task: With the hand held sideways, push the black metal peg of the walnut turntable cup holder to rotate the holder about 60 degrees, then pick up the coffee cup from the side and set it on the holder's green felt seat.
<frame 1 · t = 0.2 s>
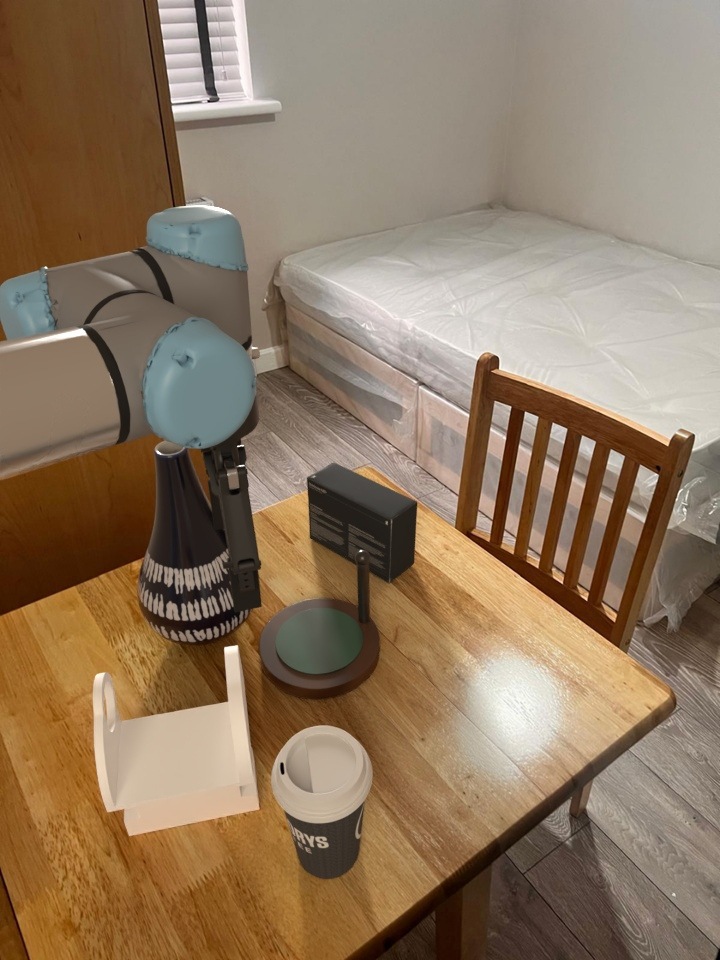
hand: (236, 564, 78), 23 cm above the table, tool pointing down, fingers open, 13 cm apart
coffee cup: (328, 848, 76), on the table
tape dispenser: (194, 792, 82), on the table
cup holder: (317, 612, 94), point 7 cm above the table, hinge at 0.0°
box: (361, 551, 115), on the table
vase: (205, 625, 103), on the table
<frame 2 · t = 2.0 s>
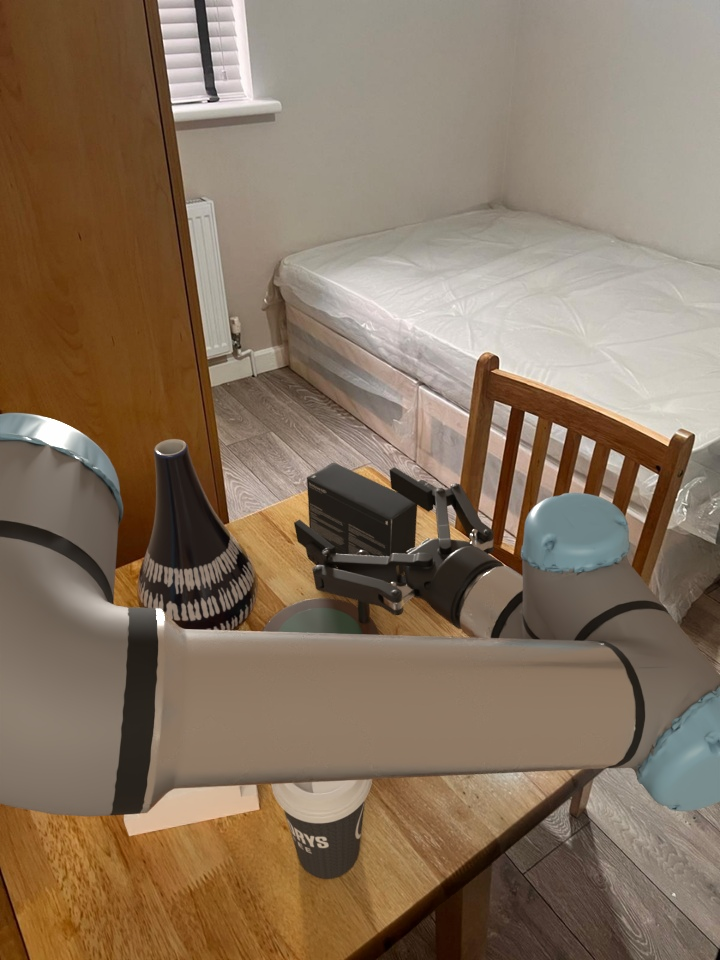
hand: (347, 503, 83), 25 cm above the table, tool horizontal, fingers open, 13 cm apart
nothing on the table moved.
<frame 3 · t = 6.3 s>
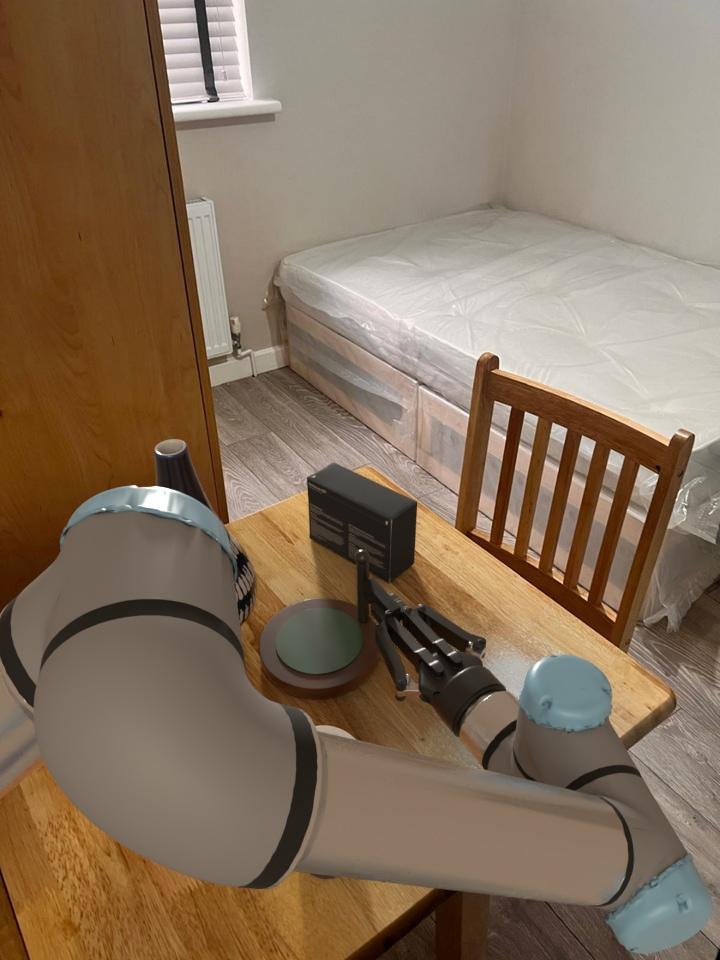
hand: (368, 587, 95), 9 cm above the table, tool horizontal, fingers closed
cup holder: (317, 612, 94), point 7 cm above the table, hinge at 0.8°, touching gripper
everything else where it was.
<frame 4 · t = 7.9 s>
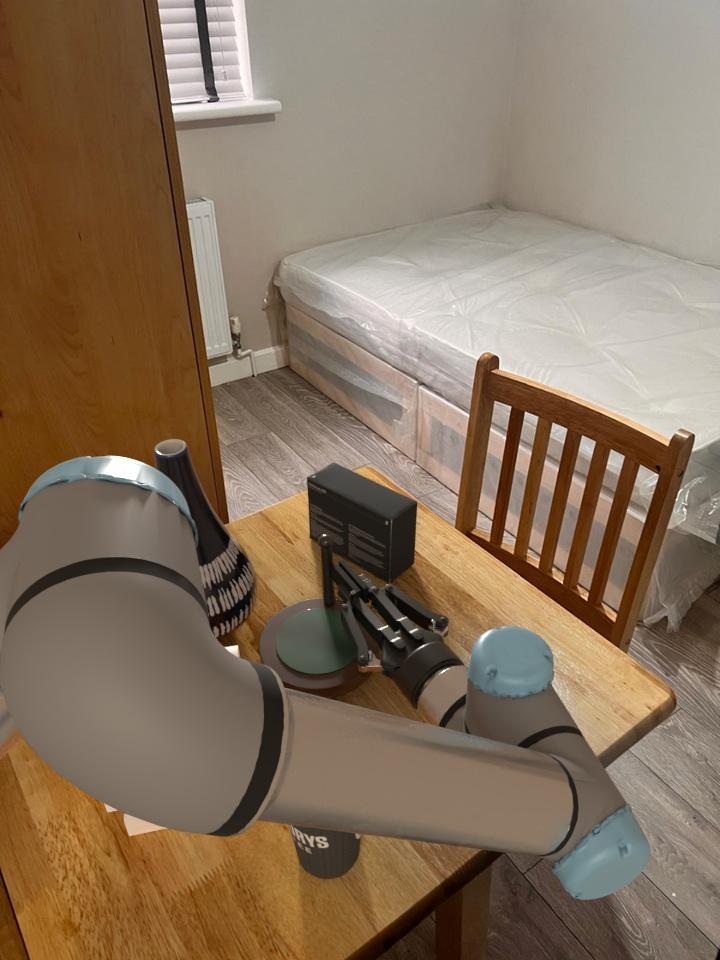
hand: (337, 568, 98), 9 cm above the table, tool horizontal, fingers closed
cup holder: (317, 612, 94), point 7 cm above the table, hinge at 49.4°, touching gripper
everything else where it was.
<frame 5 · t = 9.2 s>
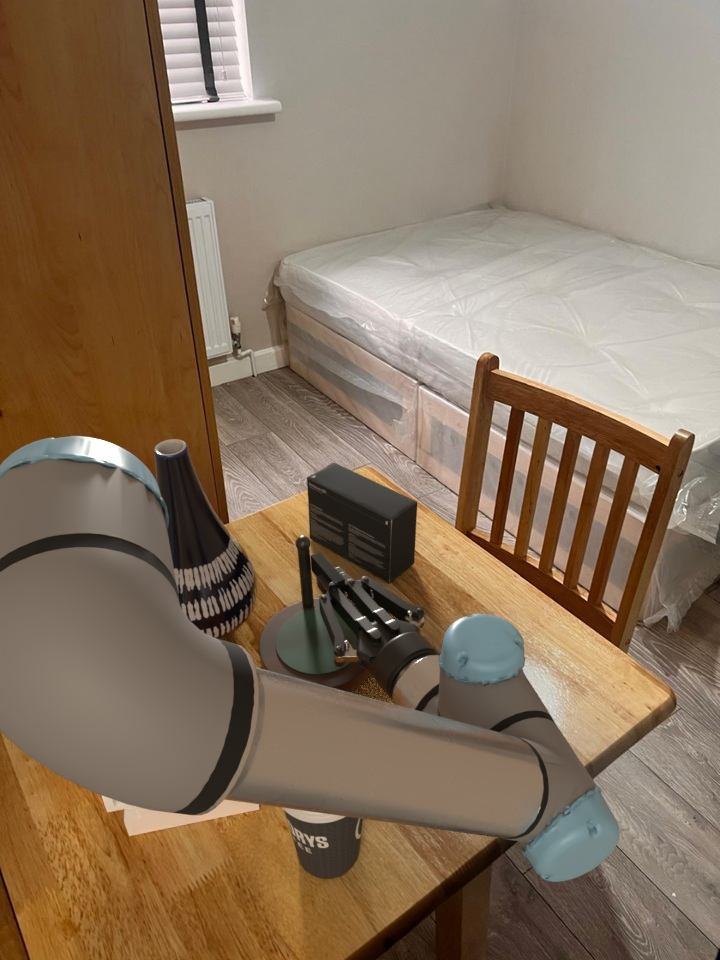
hand: (315, 561, 98), 10 cm above the table, tool horizontal, fingers closed
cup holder: (317, 612, 94), point 7 cm above the table, hinge at 74.0°
everything else where it was.
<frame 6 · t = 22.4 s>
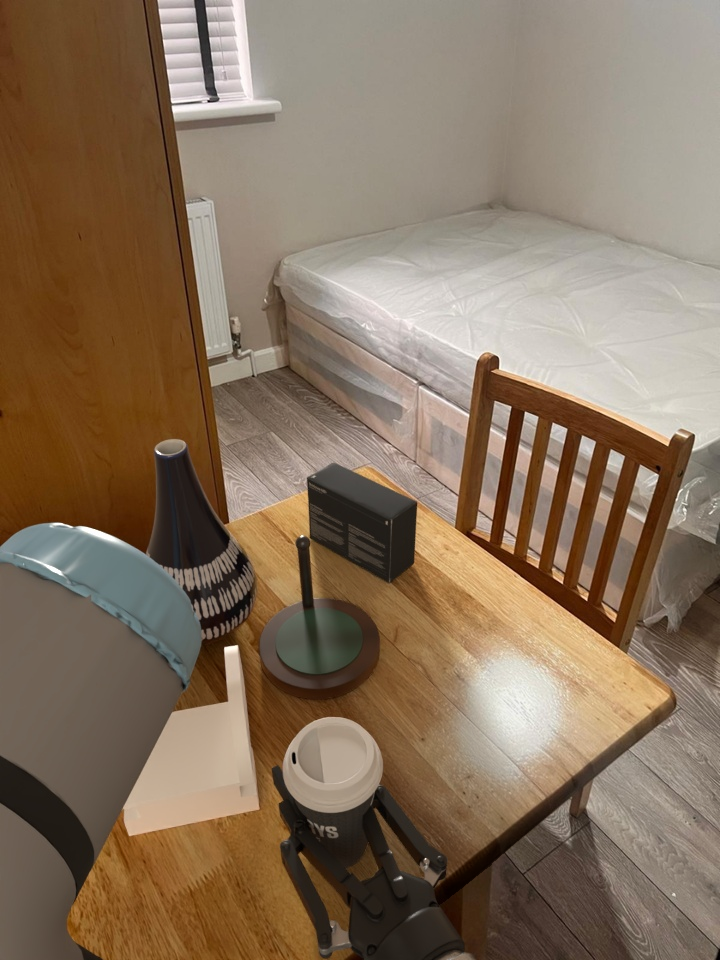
hand: (297, 763, 75), 8 cm above the table, tool horizontal, fingers closed on coffee cup, 4 cm apart
coffee cup: (337, 840, 77), on the table, touching gripper
everything else where it was.
when the fingers open (11 cm above the table, at t = 34.1 s): coffee cup stays where it is, resting on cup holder.
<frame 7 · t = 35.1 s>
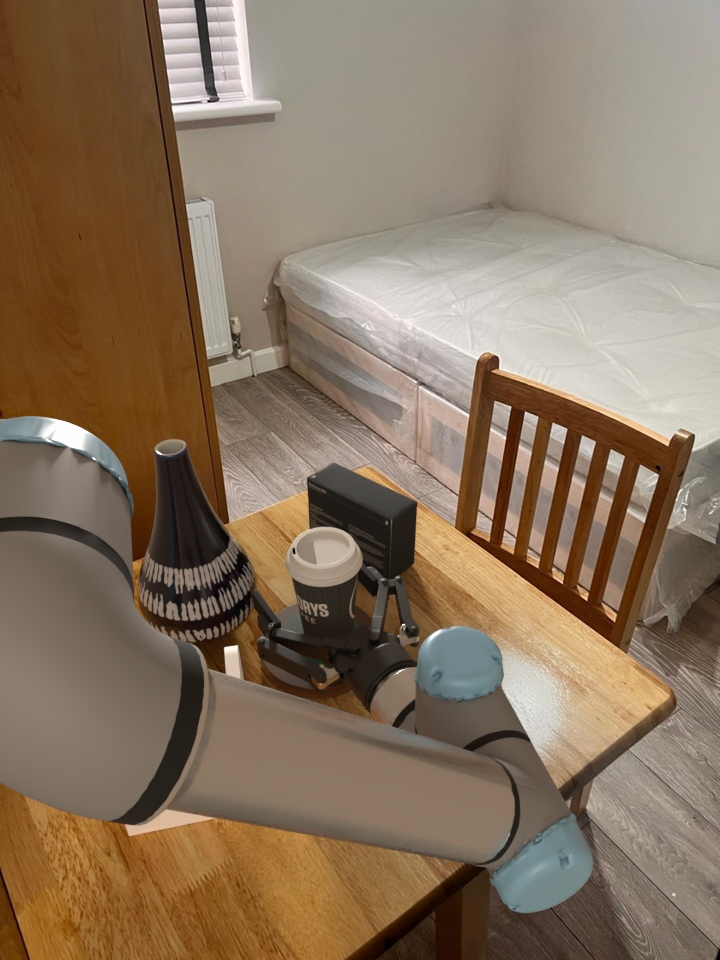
hand: (303, 578, 94), 11 cm above the table, tool horizontal, fingers open, 13 cm apart
coffee cup: (328, 634, 97), point 2 cm above the table, touching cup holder
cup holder: (317, 612, 94), point 7 cm above the table, hinge at 74.1°, touching coffee cup
everything else where it was.
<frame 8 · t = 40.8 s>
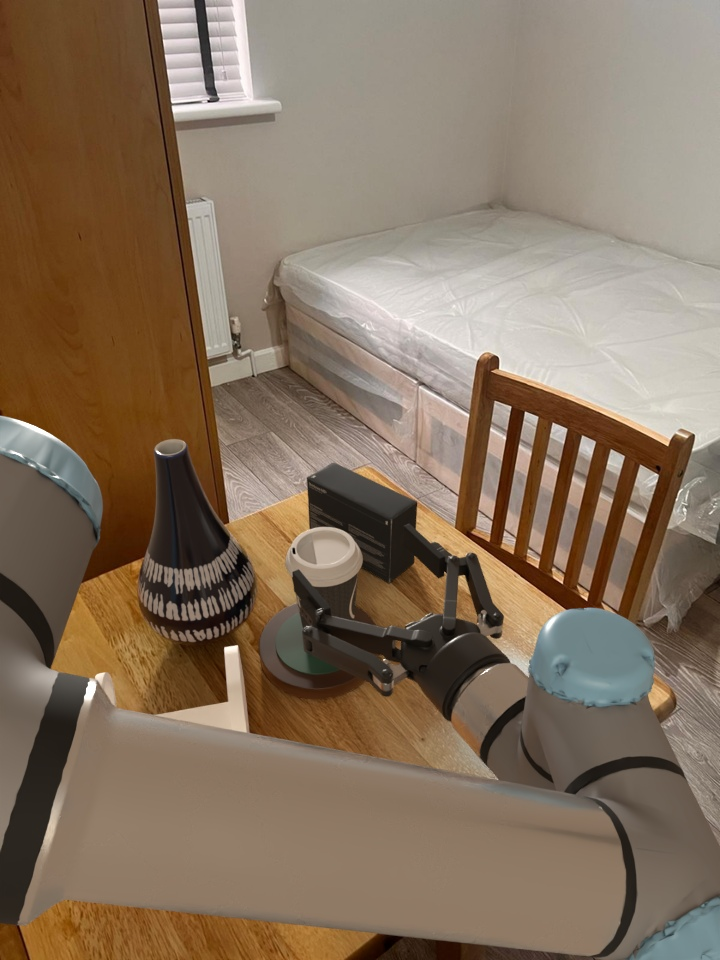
hand: (353, 556, 77), 24 cm above the table, tool horizontal, fingers open, 13 cm apart
nothing on the table moved.
at the end: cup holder at +74° (first picture: +0°); coffee cup 1.6 cm off-centre on the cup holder, point 2.3 cm above the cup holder's base; coffee cup tilted 0° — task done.
